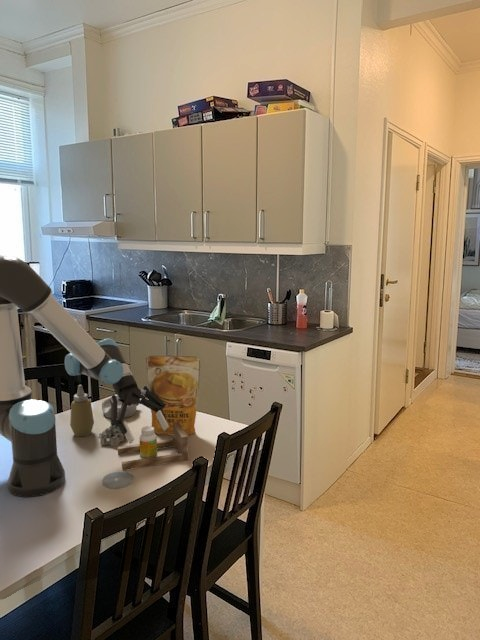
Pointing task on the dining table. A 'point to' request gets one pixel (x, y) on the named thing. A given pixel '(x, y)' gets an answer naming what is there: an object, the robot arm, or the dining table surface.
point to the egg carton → (107, 433)
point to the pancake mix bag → (174, 390)
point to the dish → (107, 408)
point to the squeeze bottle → (81, 414)
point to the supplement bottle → (148, 443)
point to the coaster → (117, 479)
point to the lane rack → (178, 442)
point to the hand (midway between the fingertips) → (149, 435)
